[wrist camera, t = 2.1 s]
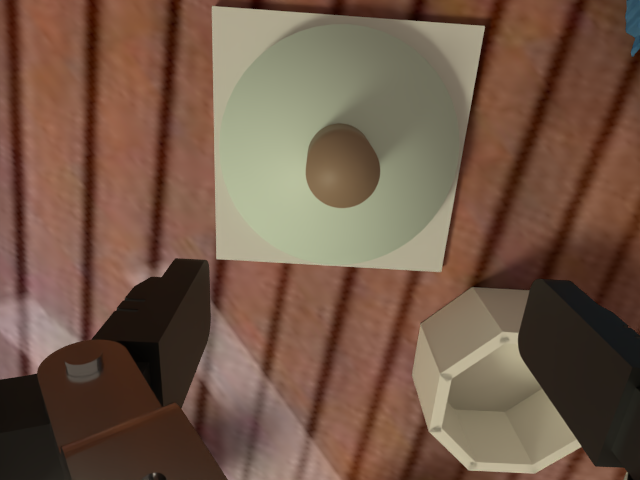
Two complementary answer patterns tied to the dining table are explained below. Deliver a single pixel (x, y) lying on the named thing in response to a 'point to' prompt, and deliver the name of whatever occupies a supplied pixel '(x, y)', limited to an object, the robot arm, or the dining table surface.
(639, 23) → the decorative plate
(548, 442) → the bowl
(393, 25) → the mat
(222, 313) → the dining table surface
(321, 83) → the lid
